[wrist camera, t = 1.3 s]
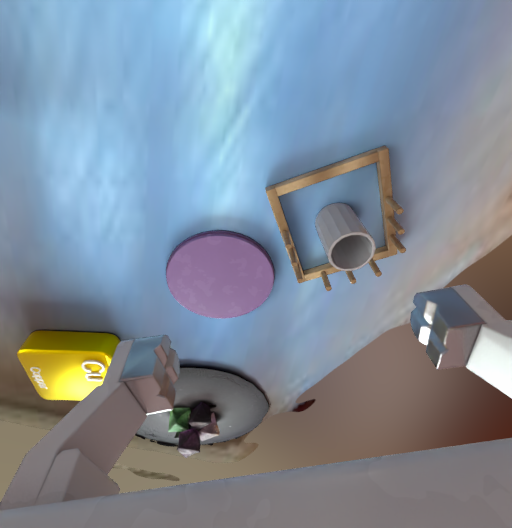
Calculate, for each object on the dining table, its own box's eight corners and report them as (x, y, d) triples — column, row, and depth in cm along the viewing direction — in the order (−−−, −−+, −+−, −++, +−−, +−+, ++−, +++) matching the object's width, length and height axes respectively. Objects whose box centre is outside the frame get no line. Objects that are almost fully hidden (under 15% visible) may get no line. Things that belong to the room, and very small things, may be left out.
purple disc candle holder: (215, 207, 40) (214, 211, 39) (296, 274, 47) (297, 279, 46) (144, 278, 46) (142, 283, 45) (225, 327, 53) (225, 332, 52)
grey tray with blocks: (152, 454, 81) (146, 495, 73) (78, 383, 60) (59, 430, 53) (278, 425, 79) (285, 464, 72) (247, 343, 59) (252, 386, 51)
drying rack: (384, 145, 36) (402, 157, 32) (394, 249, 45) (408, 269, 41) (265, 187, 38) (268, 204, 34) (297, 278, 47) (302, 299, 44)
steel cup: (339, 194, 39) (358, 223, 33) (362, 220, 42) (384, 251, 36) (306, 221, 41) (319, 253, 35) (330, 244, 44) (345, 278, 38)
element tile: (27, 328, 51) (9, 352, 47) (119, 332, 53) (109, 355, 49) (52, 379, 60) (39, 402, 56) (130, 381, 62) (123, 404, 58)
